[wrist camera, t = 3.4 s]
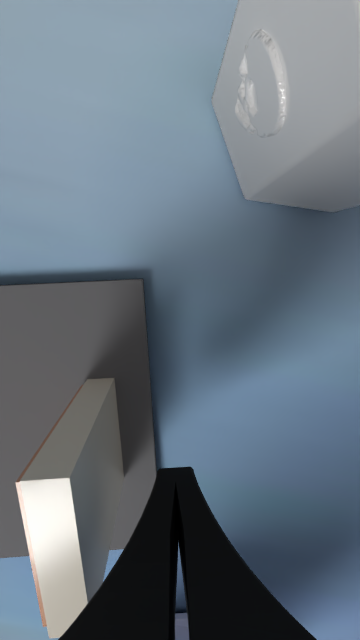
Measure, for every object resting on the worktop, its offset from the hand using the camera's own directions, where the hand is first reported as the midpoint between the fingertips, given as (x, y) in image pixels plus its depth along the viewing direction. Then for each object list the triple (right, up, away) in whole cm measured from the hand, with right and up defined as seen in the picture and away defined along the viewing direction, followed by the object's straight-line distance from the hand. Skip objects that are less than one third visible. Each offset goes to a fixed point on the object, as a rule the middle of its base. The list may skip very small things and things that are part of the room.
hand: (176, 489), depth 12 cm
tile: (-4, +1, +4) cm, 6 cm away
